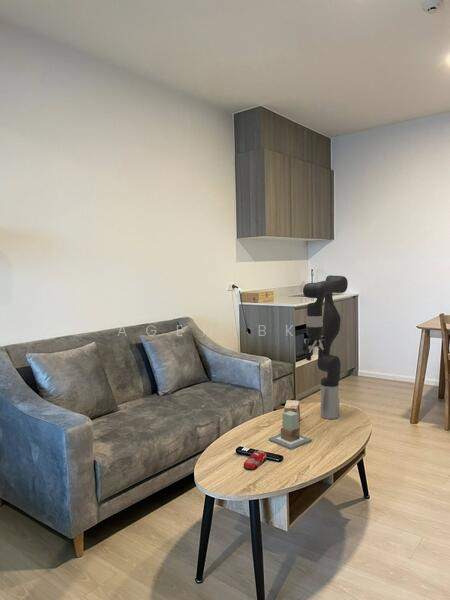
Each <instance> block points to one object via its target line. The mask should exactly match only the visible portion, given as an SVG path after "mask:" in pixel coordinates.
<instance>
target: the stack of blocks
mask: <svg viewBox="0 0 450 600" xmlns="http://www.w3.org/2000/svg"><path fill="white" fill-rule="evenodd" d="M288 411H292V412H295V413H298V427H299V426H300V425H299V424H300V420H301V407H300V400H295V399H293V400H290V399H287V400H286V402H285V405H284V411H283V413H285V412H288Z"/></svg>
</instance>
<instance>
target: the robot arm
mask: <svg viewBox="0 0 450 600" xmlns="http://www.w3.org/2000/svg"><path fill="white" fill-rule="evenodd" d="M348 283H349V282H348V279H347V277H345V276H344V275H327V276H326V277H325V280H322V281H321V280H320V281H318V282H307V283H305V285H304V286H303V288H302V293H303V295H304V297H306V298H308V299H315V302H311V303H308V304H306V305H307V306H306V336H307V338H302V352H305V360H306V361H308V362H310V361H312V350H313V349H314V348H316V347H317V349H318V350H317V351H318V353H317V368H318V370H320V371H323V372H326V373H327V377H326V376H325V377H323V378H321V379H320V417H321V418H323V419H327V420H336V419H338V418H339V417H340V398H339V393H340V391H339V382H340V378H341V365H342V364H341V360H340V357H339V356H338V355H333V354H330V352H331V347H332V344H333V342H334V340H336V338H337V337H338V335H339V333H340V331H341V319H342V318H341V315H340V313H339V311H338V309H337V307H336V305H335V303H334V299H333V294H344V293H345V292H346V291H347V290H348V285H349V284H348ZM323 305H324V307H323Z"/></svg>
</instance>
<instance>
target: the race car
mask: <svg viewBox="0 0 450 600" xmlns="http://www.w3.org/2000/svg"><path fill="white" fill-rule="evenodd" d="M267 459H268V458H267V453H266V452H264V451H260V450H259V451H255V452H253V453H252V454H250V455H249V456H247V459H246V460H245V461H244V462H243V467H244V469H246V470H250V471H251V470H257V468H260V466H261V465H263V463H265V462H266V461H267Z"/></svg>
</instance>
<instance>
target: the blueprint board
mask: <svg viewBox="0 0 450 600" xmlns="http://www.w3.org/2000/svg"><path fill="white" fill-rule="evenodd" d="M268 441H270V442H272V443H273V444H276V445H278V446H281V447H283V448H286V449H288V450H290V451H293V450H294V449H297V448H299V447H303V446H304V445H307V444H310V443H312V442H313V439H312V438H309V437H306V436H303V435H301V434H300V428H299V427H298V429H295V430H292V431H289V430H287V429H284V428H283V426H282V427H280V434H277V435H273V436H271V437H269V438H268Z"/></svg>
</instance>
